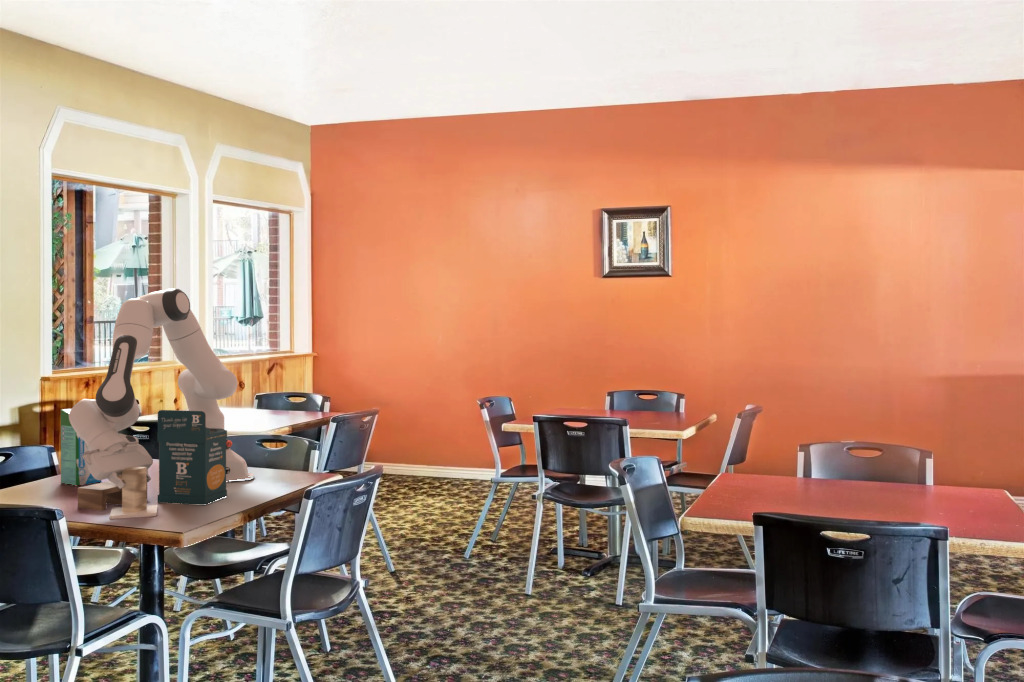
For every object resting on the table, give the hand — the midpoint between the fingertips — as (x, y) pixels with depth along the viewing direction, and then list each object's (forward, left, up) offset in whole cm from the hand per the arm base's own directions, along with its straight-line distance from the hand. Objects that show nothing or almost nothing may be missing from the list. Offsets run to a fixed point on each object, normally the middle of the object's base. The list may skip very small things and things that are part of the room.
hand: (136, 483), depth 250 cm
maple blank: (0, 0, -8) cm, 8 cm away
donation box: (-17, -16, -9) cm, 25 cm away
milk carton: (+19, -57, -9) cm, 61 cm away
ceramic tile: (0, 0, -8) cm, 8 cm away
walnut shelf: (+7, -17, -8) cm, 20 cm away
